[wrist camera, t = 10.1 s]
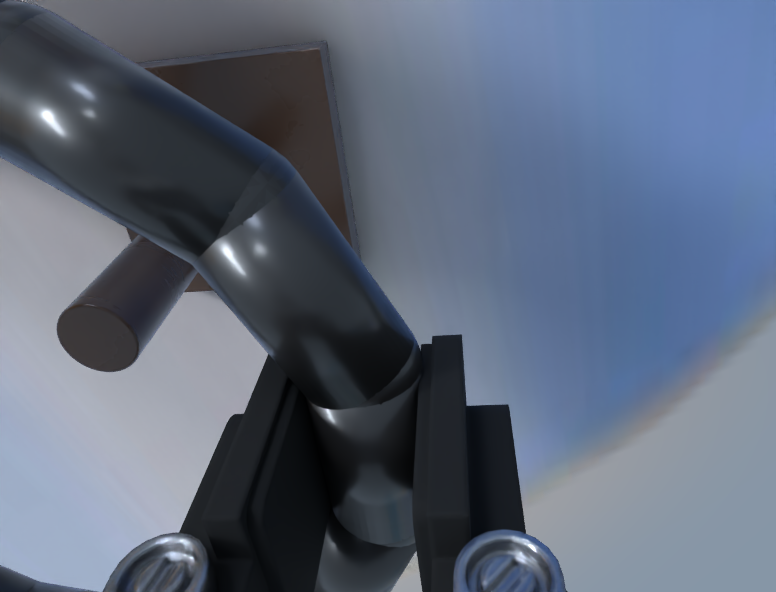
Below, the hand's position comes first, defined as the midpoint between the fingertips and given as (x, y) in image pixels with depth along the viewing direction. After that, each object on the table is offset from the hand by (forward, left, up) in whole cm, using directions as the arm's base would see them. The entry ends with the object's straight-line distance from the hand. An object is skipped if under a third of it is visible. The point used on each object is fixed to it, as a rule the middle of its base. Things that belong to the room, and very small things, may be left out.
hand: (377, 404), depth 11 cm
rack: (-7, 0, -14) cm, 16 cm away
